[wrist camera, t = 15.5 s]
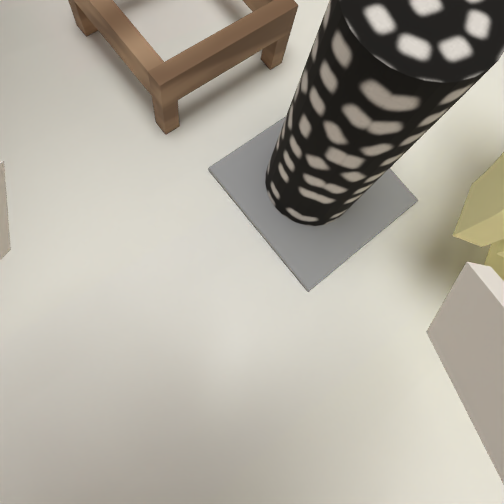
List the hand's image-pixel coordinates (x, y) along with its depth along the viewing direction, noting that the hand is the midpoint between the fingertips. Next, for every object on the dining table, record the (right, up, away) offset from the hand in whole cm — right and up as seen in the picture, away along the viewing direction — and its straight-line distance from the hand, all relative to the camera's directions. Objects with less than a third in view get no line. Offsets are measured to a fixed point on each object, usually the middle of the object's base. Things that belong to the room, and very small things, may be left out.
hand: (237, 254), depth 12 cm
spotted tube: (+6, +6, +26) cm, 28 cm away
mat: (+6, +6, +27) cm, 28 cm away
